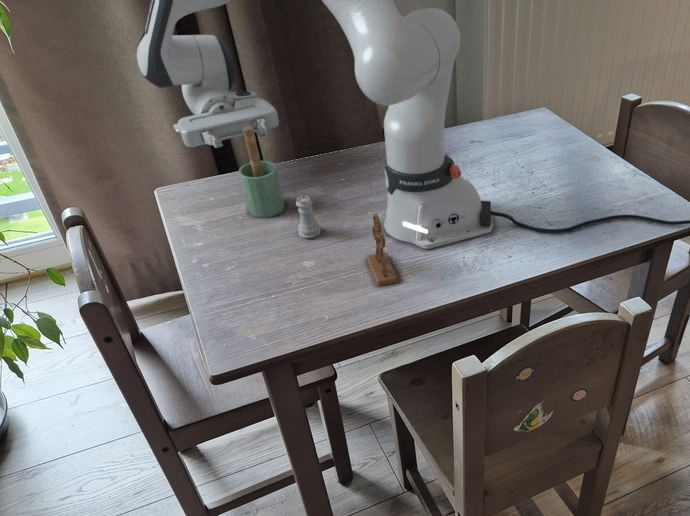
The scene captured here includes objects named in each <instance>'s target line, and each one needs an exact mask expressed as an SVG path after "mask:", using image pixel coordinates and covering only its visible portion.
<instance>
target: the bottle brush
mask: <svg viewBox="0 0 690 516" xmlns="http://www.w3.org/2000/svg"><path fill="white" fill-rule="evenodd" d="M242 130H243V134H244V135H243V137H244V142H245V146H246V150H247V154H248V158H249V163H251V167H252V171H253V175H254V177H262V176H264V174H263V169H262V165H261V161H262V160H261V157H260V152H259V148H258V144H257V143H258V142H257V140H256V135H255V134H256V133H255V132H254V130H253V127H251V126H247V127H244V128H243V129H242Z"/></svg>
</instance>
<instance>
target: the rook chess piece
mask: <svg viewBox="0 0 690 516" xmlns="http://www.w3.org/2000/svg"><path fill="white" fill-rule="evenodd" d="M313 203H314V202H313V199H311V197H310V196H309V195H307V194H305V195H300V196H297V198H296V201H295V205H296V207H298V209H297V211H298V213H299V220H300V221H299V224H298V226H297V230H298V235H299V237H301V238H303V239H306V240H310V239H314V238H317V237H319V235H320V234H321V231H322V230H321V226H320V223H319V222H318V221H317V220H316V219H315V217H314V213H313V209H314V208H313V207H312V205H313Z"/></svg>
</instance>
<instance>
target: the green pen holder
mask: <svg viewBox="0 0 690 516" xmlns="http://www.w3.org/2000/svg"><path fill="white" fill-rule="evenodd" d="M260 161H261V165H262V169H263V174H264V176H262V177H254V175H253V171H252V167H251V163H250V162H247V163H245V164H243V165H241V166H240V168H239V169H238V176H239V179H240V183H241V187H242V191H243V195H244V199H245V203H246V205H247V210H248V212H249V214H250V215H251V216H253V217H256V218H271V217H274V216H278V215H279V214H281V213H282V212H283V211H284V209H285V207H286V206H285V201H284V196H283V191H282V186H281V182H280V176H279V173H278V168H277V164H275V163H274V162H272V161H268V160H260Z"/></svg>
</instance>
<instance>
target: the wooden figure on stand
mask: <svg viewBox="0 0 690 516" xmlns="http://www.w3.org/2000/svg"><path fill="white" fill-rule="evenodd" d="M372 220H373V225H372V227H371V233H372V238H373V240H374V241H375V253H374V254H369V255H366V262H367V264H368V267H369V270H370V272H371V274H372V276H373V279H374V281H375V283H376V285H377V287H383V286H388V285H393V284H398V282H399V278H398V275H397V274H396V272H395V270H394V267H393V265H392V263H391V261H390V259H389V256H388V254H387V253H386V252H384V248H386V238H385V234H384V232H383V230H382V224H381V219H380V216H379V214H378V213H374V214H372Z"/></svg>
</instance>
